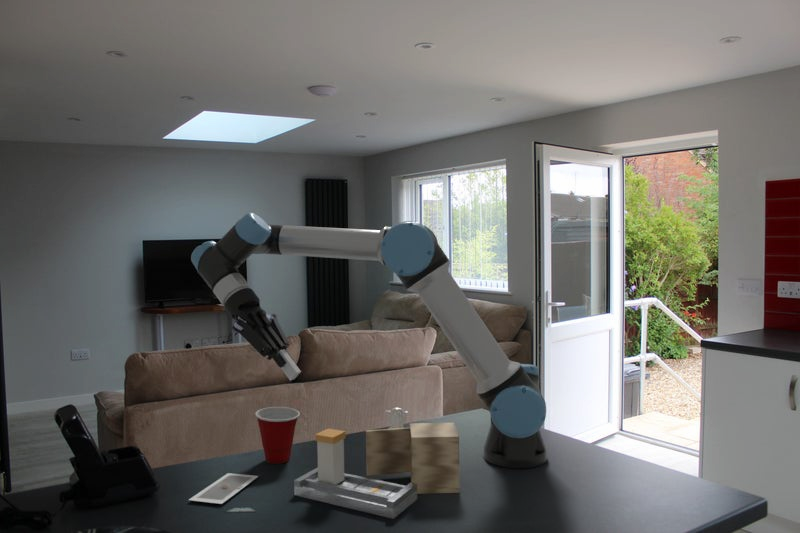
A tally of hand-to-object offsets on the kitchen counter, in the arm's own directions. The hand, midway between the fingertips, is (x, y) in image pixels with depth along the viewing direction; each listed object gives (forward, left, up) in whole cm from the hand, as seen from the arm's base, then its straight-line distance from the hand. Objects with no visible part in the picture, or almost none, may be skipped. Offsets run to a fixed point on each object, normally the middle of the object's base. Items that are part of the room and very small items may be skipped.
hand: (295, 376), depth 131 cm
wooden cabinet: (-25, +1, -24) cm, 35 cm away
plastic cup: (+7, -16, -24) cm, 30 cm away
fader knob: (-8, +4, -22) cm, 24 cm away
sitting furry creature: (-22, -17, -24) cm, 37 cm away
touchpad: (+15, +2, -25) cm, 29 cm away
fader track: (-13, +7, -24) cm, 28 cm away
